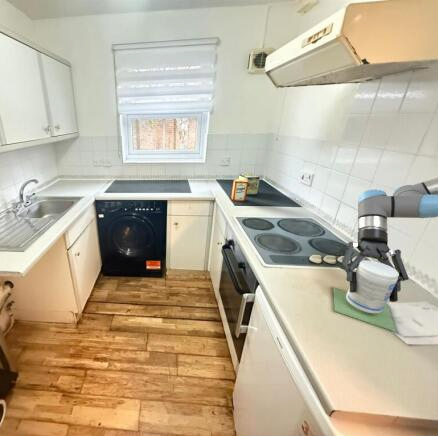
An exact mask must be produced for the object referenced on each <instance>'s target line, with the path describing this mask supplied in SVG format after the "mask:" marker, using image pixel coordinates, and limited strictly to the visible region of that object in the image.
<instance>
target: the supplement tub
mask: <svg viewBox="0 0 438 436" xmlns="http://www.w3.org/2000/svg"><path fill="white" fill-rule="evenodd" d="M394 268H395V267H394ZM394 268H392V267H390V266H388V265H386V264H383V263H380V262H379V261H375V260H371V259H368V260H367V259H366V260H364V259H363V260H362V261H361V262H360V263H359V264H358V266H357V267H356V269H355V270H356V271H355V272H356V292H354V293H351V292H350V286H349V287H348V290H347V291H346V292H347V295H346V299H347V301H348V302H349V303H350V304H351V305H352V306H354V307H355V308H357V309H359V310H361V311H364V312H367V313H373V314H377V313H380V312H382V311H383V309H384V307H385V305H386V304H388V303H387V302H388V301H389V297H390V294H391V292H392V290H393V288H394V286H395V284H396V282H397V280H398V276H399V273H398V271H396V270H395V269H394Z"/></svg>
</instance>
